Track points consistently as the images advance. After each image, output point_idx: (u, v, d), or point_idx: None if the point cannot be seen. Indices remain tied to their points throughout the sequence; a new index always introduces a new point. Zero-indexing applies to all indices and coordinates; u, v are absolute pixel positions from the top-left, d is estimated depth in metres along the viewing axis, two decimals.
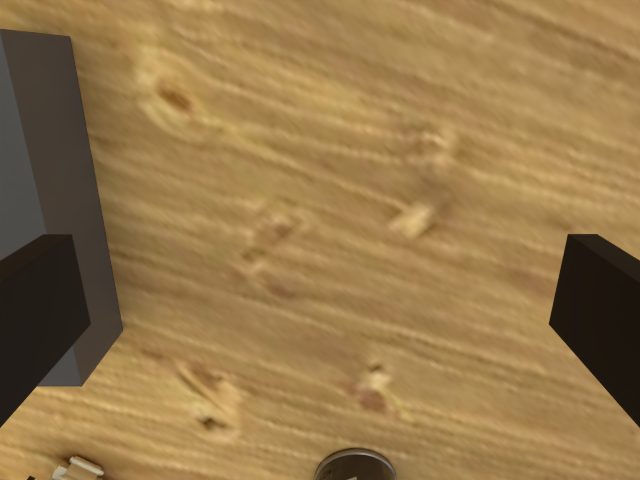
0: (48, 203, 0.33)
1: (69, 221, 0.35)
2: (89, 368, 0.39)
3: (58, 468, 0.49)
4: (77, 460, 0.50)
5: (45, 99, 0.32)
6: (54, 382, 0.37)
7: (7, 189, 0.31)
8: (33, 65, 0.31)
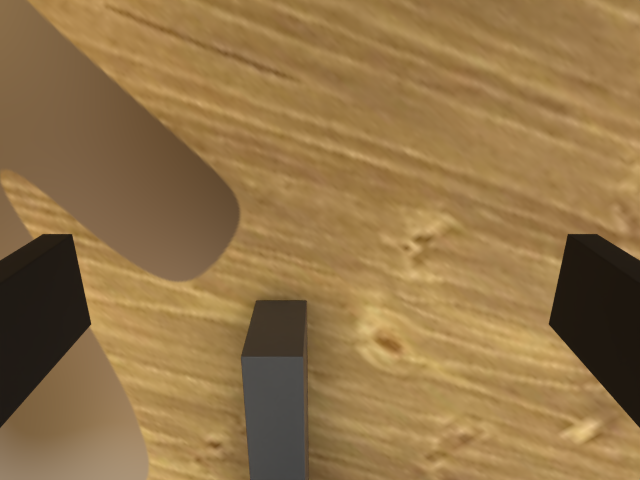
0: (305, 463, 0.38)
1: (306, 461, 0.41)
2: None
3: None
4: None
5: (305, 377, 0.38)
6: None
7: (280, 461, 0.37)
8: None
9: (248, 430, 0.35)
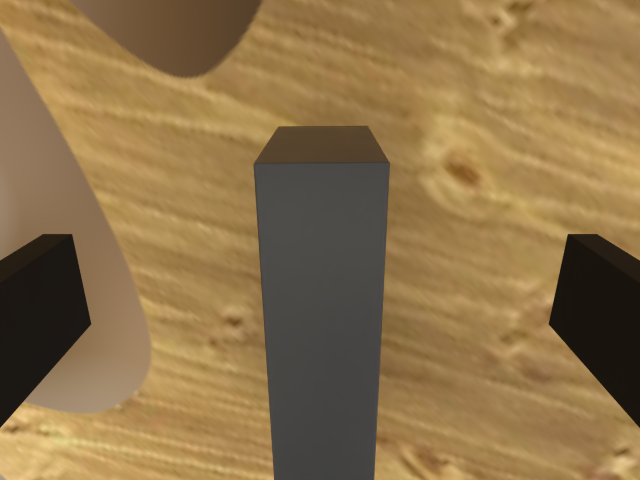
0: None
1: None
2: None
3: None
4: None
5: None
6: None
7: (329, 402, 0.19)
8: None
9: (268, 337, 0.18)
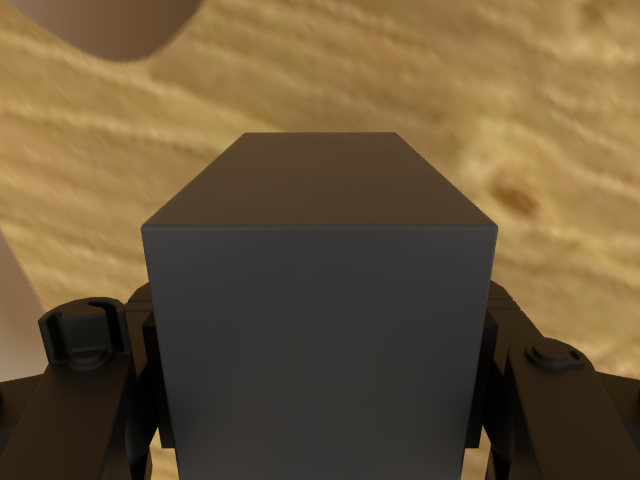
0: None
1: None
2: None
3: None
4: None
5: None
6: None
7: None
8: None
9: None
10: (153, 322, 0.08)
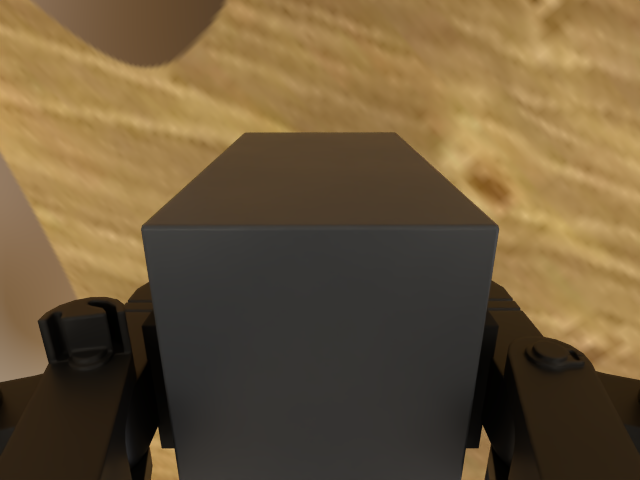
0: None
1: None
2: None
3: None
4: None
5: None
6: None
7: None
8: None
9: None
10: (153, 322, 0.08)
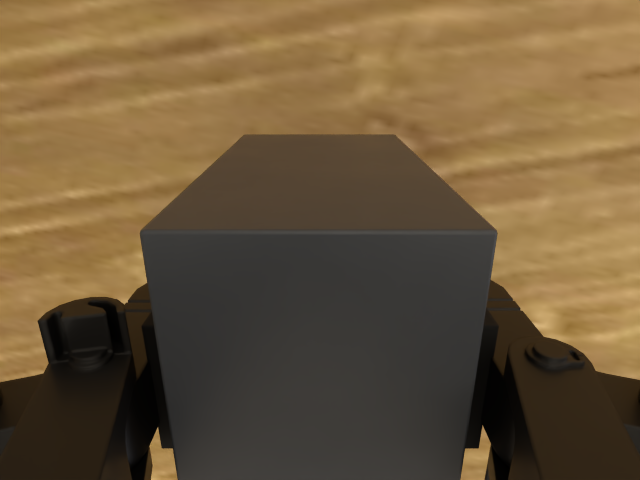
0: None
1: None
2: None
3: None
4: None
5: None
6: None
7: None
8: None
9: None
10: (153, 322, 0.08)
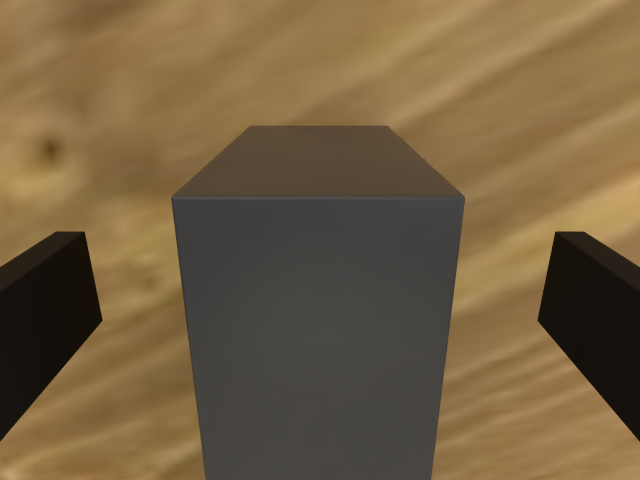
0: None
1: None
2: None
3: None
4: None
5: None
6: None
7: None
8: None
9: None
10: None
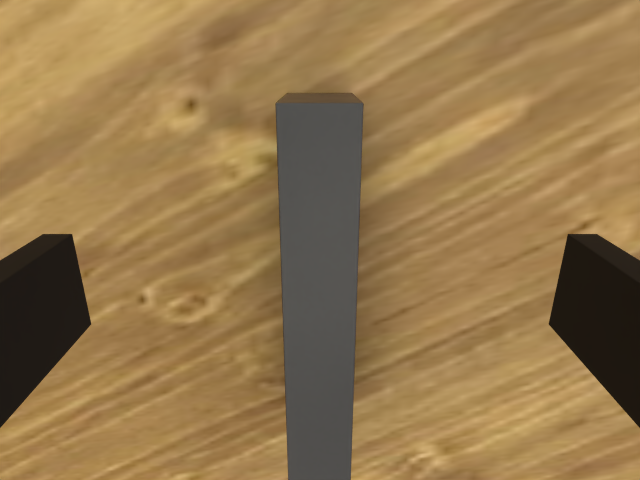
0: None
1: None
2: None
3: None
4: None
5: None
6: (320, 479, 0.33)
7: (324, 279, 0.27)
8: None
9: (282, 228, 0.26)
10: None
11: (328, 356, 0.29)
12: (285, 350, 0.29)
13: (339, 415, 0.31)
